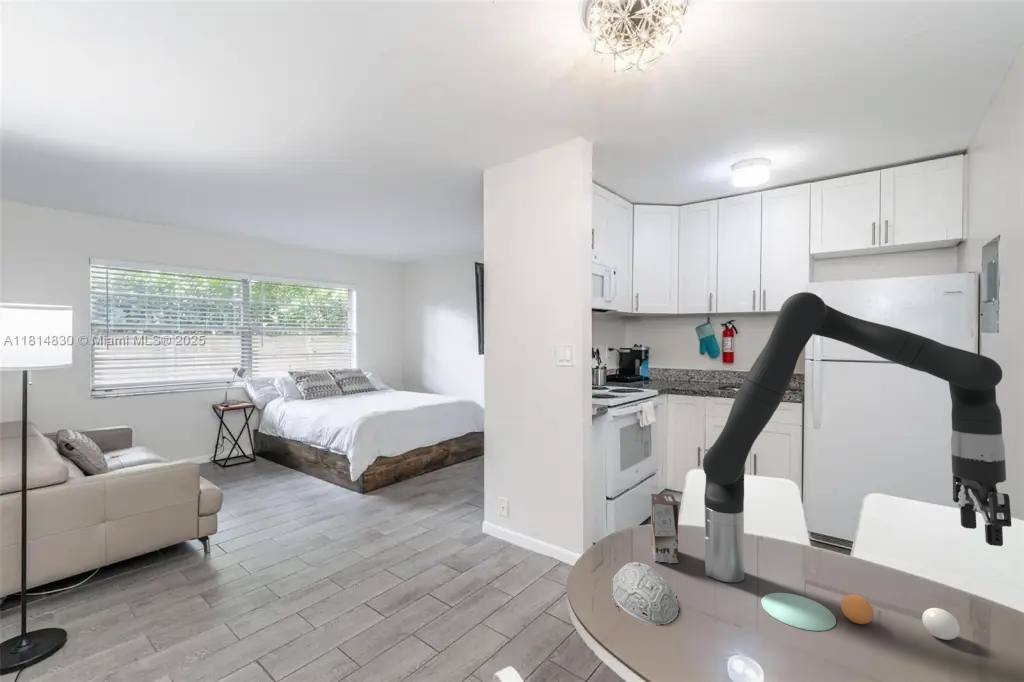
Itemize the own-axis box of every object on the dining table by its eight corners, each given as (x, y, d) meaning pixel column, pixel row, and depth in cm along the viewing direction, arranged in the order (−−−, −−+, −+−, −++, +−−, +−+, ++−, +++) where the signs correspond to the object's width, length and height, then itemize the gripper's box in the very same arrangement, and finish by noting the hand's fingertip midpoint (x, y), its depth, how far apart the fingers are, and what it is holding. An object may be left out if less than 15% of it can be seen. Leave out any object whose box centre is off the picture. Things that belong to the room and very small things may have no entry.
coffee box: (679, 564, 122) (678, 504, 122) (654, 562, 124) (653, 503, 124) (674, 549, 131) (673, 493, 131) (650, 547, 133) (650, 492, 133)
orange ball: (845, 626, 95) (845, 600, 95) (837, 612, 100) (837, 587, 100) (877, 632, 93) (877, 605, 93) (868, 617, 98) (867, 592, 98)
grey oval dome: (619, 626, 96) (622, 593, 96) (602, 572, 121) (604, 546, 121) (694, 635, 95) (696, 602, 95) (661, 579, 120) (663, 553, 120)
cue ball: (930, 642, 90) (929, 614, 90) (917, 626, 95) (917, 599, 95) (966, 649, 88) (965, 620, 88) (951, 632, 93) (950, 605, 93)
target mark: (766, 622, 97) (766, 621, 97) (757, 588, 110) (757, 588, 110) (844, 637, 92) (844, 636, 92) (825, 600, 105) (825, 599, 105)
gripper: (935, 445, 99) (938, 520, 98) (973, 461, 85) (977, 548, 85) (980, 447, 96) (984, 525, 96) (1027, 464, 83) (1031, 554, 82)
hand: (981, 536), depth 90 cm, fingers open, 8 cm apart
